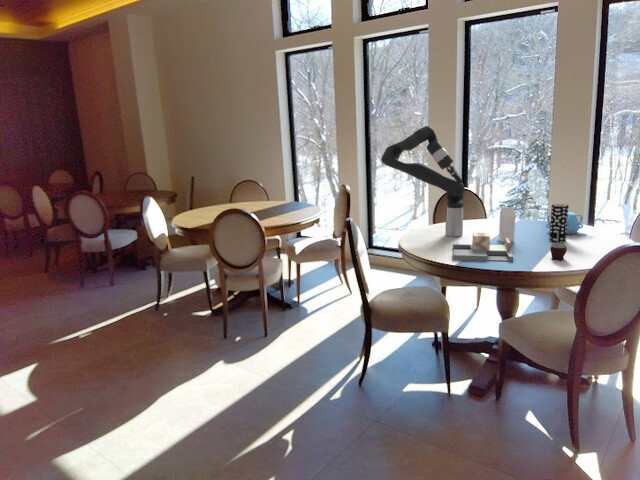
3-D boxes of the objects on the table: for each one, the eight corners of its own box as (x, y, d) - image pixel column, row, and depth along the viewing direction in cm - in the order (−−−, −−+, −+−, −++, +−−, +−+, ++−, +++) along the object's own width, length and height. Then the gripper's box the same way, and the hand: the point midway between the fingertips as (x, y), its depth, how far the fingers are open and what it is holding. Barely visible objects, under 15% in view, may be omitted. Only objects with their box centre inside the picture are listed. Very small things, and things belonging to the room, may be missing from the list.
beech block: (473, 249, 257) (473, 236, 256) (472, 245, 265) (472, 232, 263) (489, 249, 256) (490, 236, 254) (488, 245, 263) (488, 232, 261)
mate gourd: (560, 256, 247) (562, 227, 243) (569, 261, 239) (572, 230, 236) (546, 257, 246) (548, 228, 242) (555, 262, 239) (557, 231, 235)
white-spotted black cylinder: (546, 239, 280) (548, 204, 275) (560, 238, 281) (563, 203, 276) (554, 243, 272) (556, 207, 267) (568, 242, 273) (571, 206, 268)
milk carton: (514, 241, 278) (515, 208, 273) (500, 241, 279) (502, 208, 275) (511, 238, 285) (513, 206, 280) (498, 238, 286) (500, 206, 282)
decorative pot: (562, 228, 305) (563, 206, 301) (585, 233, 290) (587, 210, 287) (542, 231, 298) (543, 209, 295) (565, 237, 284) (566, 213, 281)
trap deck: (453, 260, 249) (453, 247, 248) (452, 248, 270) (453, 236, 268) (512, 261, 242) (513, 248, 241) (507, 249, 263) (508, 237, 262)
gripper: (438, 163, 272) (456, 187, 270) (435, 162, 259) (453, 187, 257) (449, 154, 270) (467, 178, 268) (447, 153, 256) (466, 178, 254)
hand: (460, 182), depth 262 cm, fingers open, 8 cm apart
